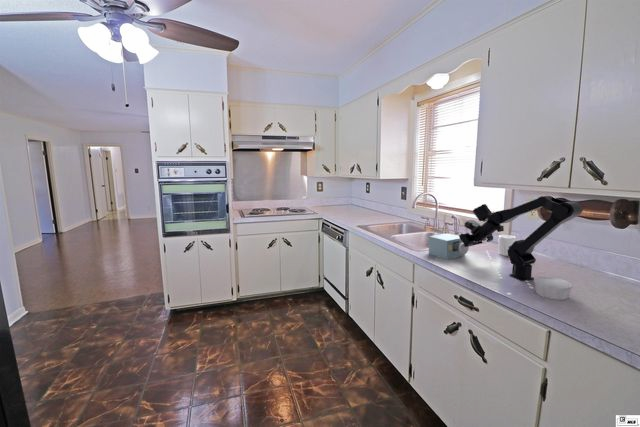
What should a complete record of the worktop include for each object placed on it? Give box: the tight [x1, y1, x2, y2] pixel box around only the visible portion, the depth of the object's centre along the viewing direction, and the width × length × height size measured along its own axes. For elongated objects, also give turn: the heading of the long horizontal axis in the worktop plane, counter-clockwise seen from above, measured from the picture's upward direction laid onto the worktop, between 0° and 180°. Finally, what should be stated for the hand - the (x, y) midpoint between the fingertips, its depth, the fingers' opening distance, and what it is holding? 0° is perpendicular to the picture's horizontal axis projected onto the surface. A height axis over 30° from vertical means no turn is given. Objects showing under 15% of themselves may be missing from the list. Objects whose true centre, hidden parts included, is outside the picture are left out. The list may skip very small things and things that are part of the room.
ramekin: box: [533, 276, 573, 301], centre depth 108 cm, size 11×11×5 cm
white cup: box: [497, 234, 517, 257], centre depth 158 cm, size 8×8×10 cm
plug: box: [453, 242, 470, 255], centre depth 157 cm, size 14×6×6 cm, turn 26°
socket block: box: [428, 232, 466, 260], centre depth 160 cm, size 12×14×10 cm
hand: (465, 246), depth 150 cm, fingers closed, pressing on plug
